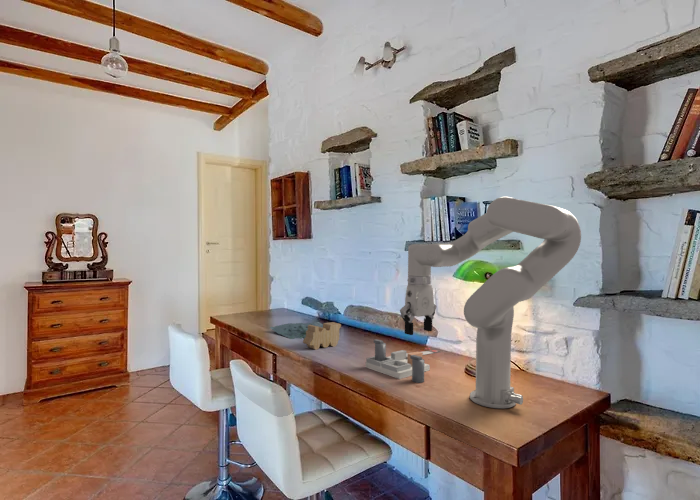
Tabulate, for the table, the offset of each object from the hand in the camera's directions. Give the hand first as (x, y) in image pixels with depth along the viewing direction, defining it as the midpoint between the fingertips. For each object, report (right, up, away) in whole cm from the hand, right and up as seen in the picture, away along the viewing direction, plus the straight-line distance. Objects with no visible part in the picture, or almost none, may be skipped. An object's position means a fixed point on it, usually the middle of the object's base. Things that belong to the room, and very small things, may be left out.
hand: (418, 332), depth 133 cm
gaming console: (+5, -17, +37) cm, 41 cm away
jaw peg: (0, -16, 0) cm, 16 cm away
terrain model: (-46, -16, +74) cm, 89 cm away
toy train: (-35, -16, +45) cm, 59 cm away
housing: (-6, -16, +13) cm, 21 cm away
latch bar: (+1, -14, +12) cm, 18 cm away
